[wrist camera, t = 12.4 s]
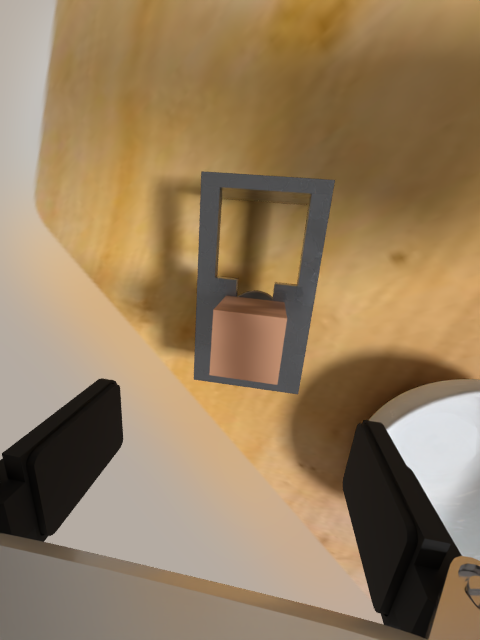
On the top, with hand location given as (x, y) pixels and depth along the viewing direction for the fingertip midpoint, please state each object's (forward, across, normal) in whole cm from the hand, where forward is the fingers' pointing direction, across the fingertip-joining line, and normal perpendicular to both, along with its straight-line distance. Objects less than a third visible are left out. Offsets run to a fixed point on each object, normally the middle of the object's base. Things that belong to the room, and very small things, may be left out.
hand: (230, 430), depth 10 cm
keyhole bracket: (+20, +1, -3) cm, 20 cm away
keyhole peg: (+17, 0, 0) cm, 17 cm away
